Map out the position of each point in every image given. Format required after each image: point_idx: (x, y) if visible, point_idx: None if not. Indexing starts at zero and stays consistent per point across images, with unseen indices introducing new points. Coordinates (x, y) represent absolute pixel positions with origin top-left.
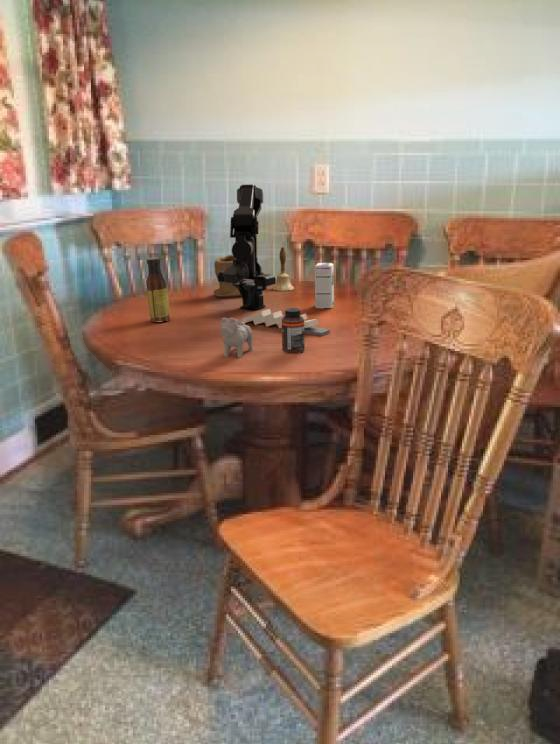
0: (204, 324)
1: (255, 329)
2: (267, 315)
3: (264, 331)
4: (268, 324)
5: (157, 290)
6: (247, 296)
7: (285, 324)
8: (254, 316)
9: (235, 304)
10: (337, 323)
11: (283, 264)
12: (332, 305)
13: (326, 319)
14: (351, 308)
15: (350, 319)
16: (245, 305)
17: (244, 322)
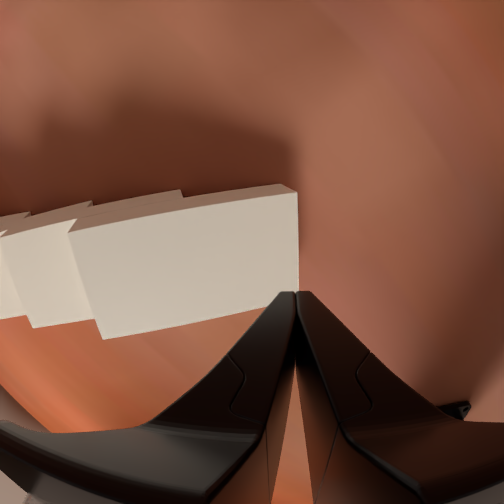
0: (484, 33)
1: (97, 106)
2: (38, 226)
3: (37, 115)
4: (71, 206)
5: None
6: (233, 354)
7: None
8: (156, 208)
9: (496, 418)
10: (7, 370)
11: None
12: None
13: (58, 403)
14: None
15: (31, 412)
16: (302, 291)
17: (276, 185)
